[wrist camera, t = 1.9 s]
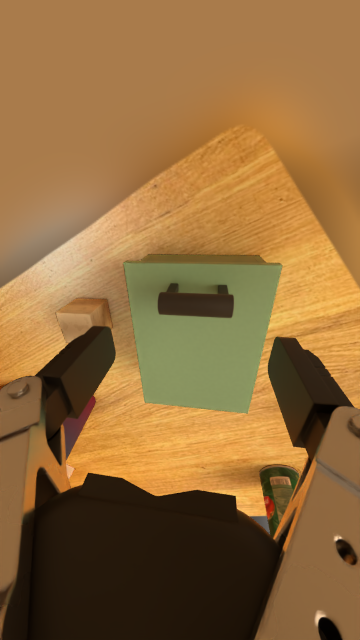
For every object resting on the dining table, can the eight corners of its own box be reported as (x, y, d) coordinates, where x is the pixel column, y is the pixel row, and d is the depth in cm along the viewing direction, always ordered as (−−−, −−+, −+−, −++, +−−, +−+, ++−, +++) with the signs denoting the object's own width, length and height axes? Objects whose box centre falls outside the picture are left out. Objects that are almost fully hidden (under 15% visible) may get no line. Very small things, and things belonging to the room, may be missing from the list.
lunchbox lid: (126, 260, 17) (97, 277, 13) (279, 262, 16) (306, 283, 11) (146, 397, 26) (133, 435, 21) (247, 408, 24) (254, 451, 20)
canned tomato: (306, 478, 42) (334, 557, 32) (273, 486, 45) (289, 560, 36) (284, 460, 40) (307, 539, 30) (251, 470, 43) (262, 544, 34)
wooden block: (76, 298, 28) (54, 312, 24) (107, 299, 27) (89, 314, 23) (84, 325, 30) (65, 343, 26) (112, 327, 29) (98, 345, 26)
